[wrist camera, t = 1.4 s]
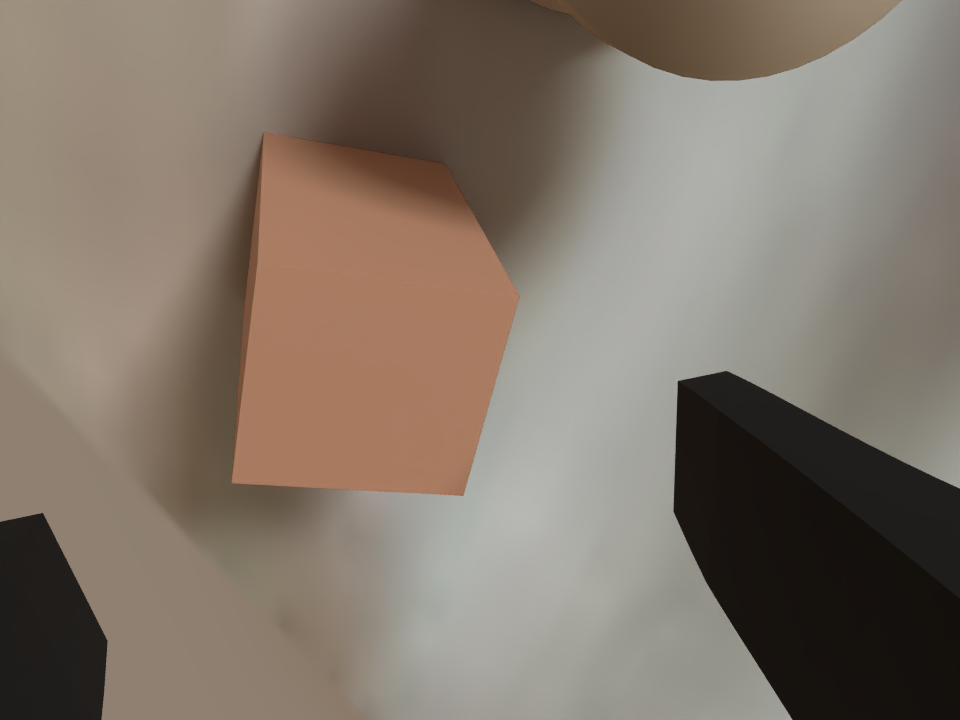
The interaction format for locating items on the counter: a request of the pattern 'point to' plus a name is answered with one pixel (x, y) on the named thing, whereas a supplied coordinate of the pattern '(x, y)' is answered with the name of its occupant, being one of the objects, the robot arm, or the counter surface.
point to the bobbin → (725, 31)
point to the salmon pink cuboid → (365, 324)
